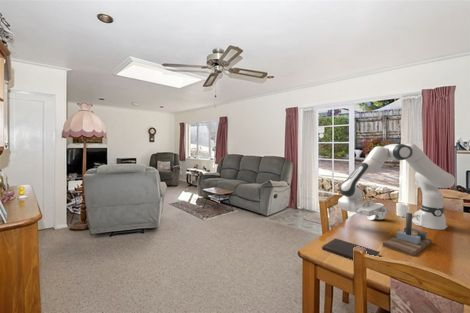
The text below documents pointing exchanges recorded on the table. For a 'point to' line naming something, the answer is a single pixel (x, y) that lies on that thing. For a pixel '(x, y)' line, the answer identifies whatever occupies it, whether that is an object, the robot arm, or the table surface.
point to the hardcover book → (345, 248)
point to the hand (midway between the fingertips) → (386, 212)
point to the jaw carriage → (408, 232)
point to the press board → (408, 244)
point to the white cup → (401, 209)
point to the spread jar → (377, 216)
